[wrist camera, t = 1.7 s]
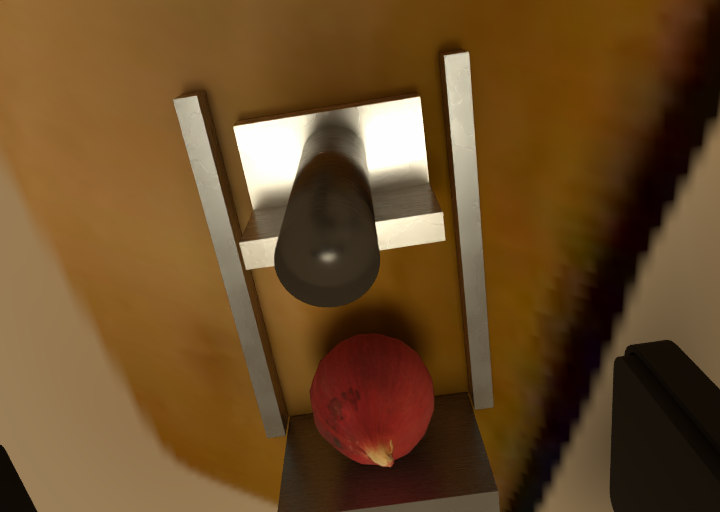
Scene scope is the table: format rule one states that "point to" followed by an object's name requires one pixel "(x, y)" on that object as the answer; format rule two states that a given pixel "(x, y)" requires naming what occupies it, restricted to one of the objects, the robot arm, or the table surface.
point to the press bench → (451, 412)
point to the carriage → (336, 194)
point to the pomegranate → (372, 398)
